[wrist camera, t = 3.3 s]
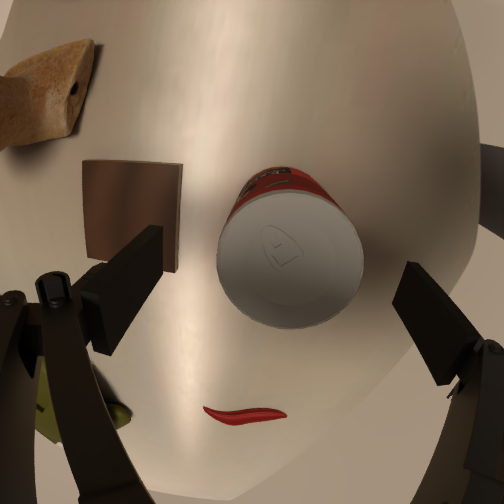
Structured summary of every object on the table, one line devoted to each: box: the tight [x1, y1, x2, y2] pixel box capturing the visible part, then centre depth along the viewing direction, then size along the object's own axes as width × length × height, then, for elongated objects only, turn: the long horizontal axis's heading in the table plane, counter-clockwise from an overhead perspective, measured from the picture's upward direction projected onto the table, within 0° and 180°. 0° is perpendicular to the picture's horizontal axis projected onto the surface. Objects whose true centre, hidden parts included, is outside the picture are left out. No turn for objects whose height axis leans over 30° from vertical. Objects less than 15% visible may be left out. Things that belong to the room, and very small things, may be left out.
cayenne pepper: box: [203, 407, 287, 426], centre depth 35 cm, size 12×5×2 cm, turn 79°
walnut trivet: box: [82, 160, 183, 273], centre depth 25 cm, size 10×10×1 cm
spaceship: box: [35, 356, 131, 444], centre depth 34 cm, size 35×31×10 cm
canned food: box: [216, 167, 364, 329], centre depth 19 cm, size 8×8×11 cm
